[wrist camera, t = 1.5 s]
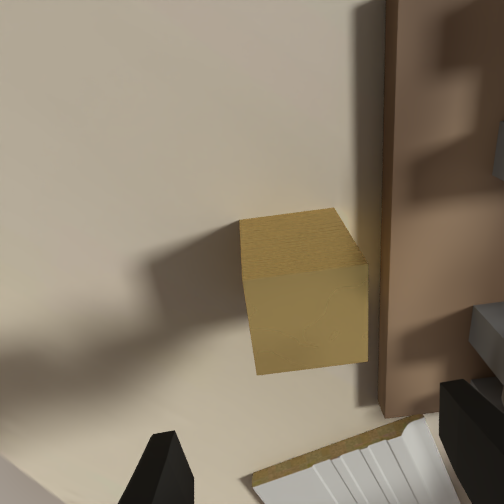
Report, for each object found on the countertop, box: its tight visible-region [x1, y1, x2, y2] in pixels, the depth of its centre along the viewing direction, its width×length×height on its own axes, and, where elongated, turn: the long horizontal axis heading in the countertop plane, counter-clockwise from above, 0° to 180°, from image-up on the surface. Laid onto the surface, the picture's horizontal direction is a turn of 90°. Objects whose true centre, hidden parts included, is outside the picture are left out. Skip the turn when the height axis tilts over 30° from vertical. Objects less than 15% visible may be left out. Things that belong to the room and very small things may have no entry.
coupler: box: [239, 208, 368, 375], centre depth 16 cm, size 4×4×5 cm
